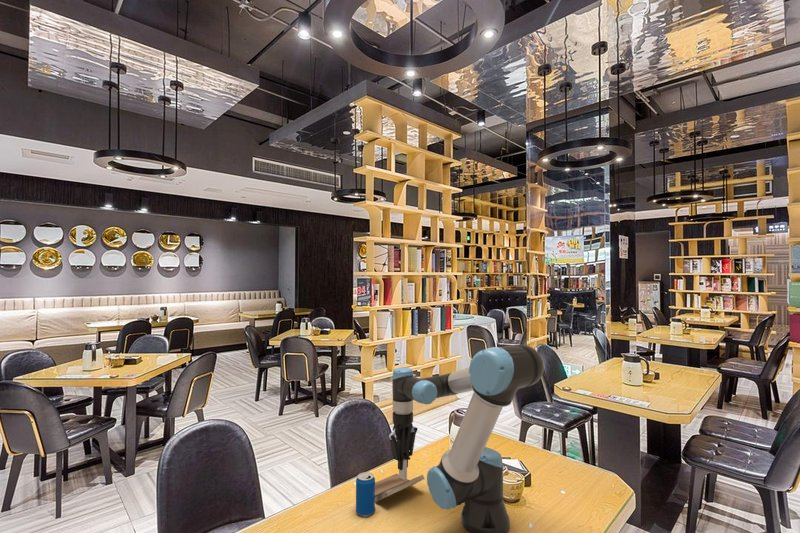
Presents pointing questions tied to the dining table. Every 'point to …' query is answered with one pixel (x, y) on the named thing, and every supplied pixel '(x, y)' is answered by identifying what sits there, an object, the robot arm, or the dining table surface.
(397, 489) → the plank
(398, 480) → the walnut board
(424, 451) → the dining table surface
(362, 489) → the beverage can
